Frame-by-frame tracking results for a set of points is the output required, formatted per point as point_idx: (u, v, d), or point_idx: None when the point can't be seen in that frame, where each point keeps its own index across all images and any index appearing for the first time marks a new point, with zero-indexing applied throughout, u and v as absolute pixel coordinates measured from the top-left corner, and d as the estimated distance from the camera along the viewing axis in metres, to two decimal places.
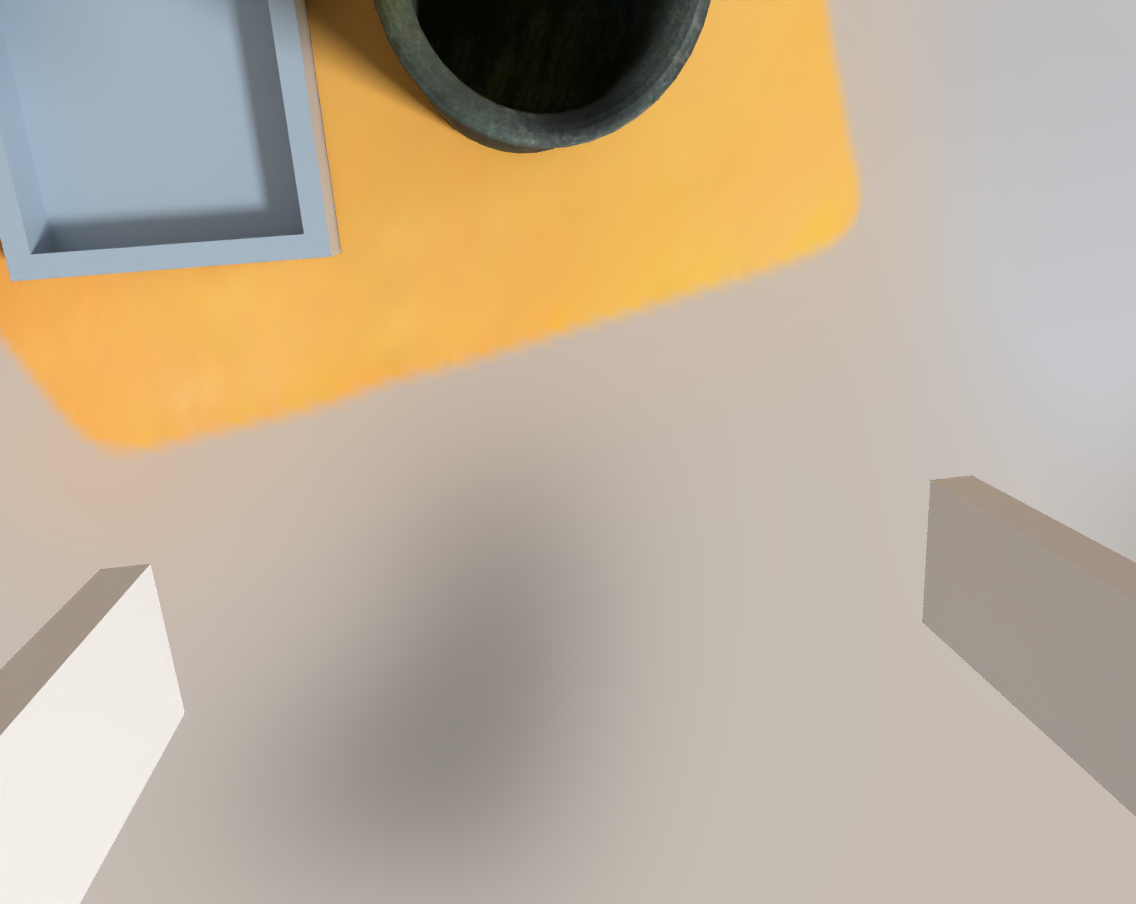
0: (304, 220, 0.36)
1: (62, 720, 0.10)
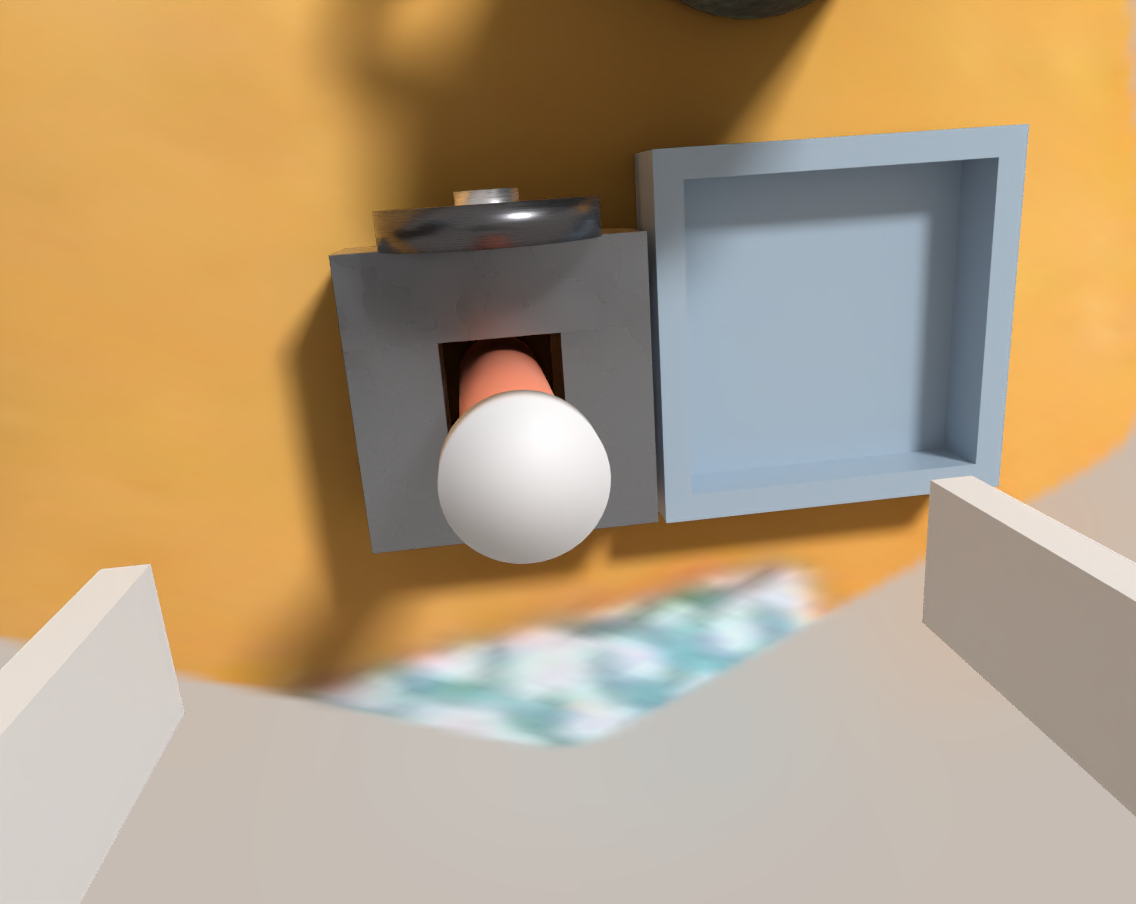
0: (983, 155, 0.29)
1: (61, 720, 0.10)
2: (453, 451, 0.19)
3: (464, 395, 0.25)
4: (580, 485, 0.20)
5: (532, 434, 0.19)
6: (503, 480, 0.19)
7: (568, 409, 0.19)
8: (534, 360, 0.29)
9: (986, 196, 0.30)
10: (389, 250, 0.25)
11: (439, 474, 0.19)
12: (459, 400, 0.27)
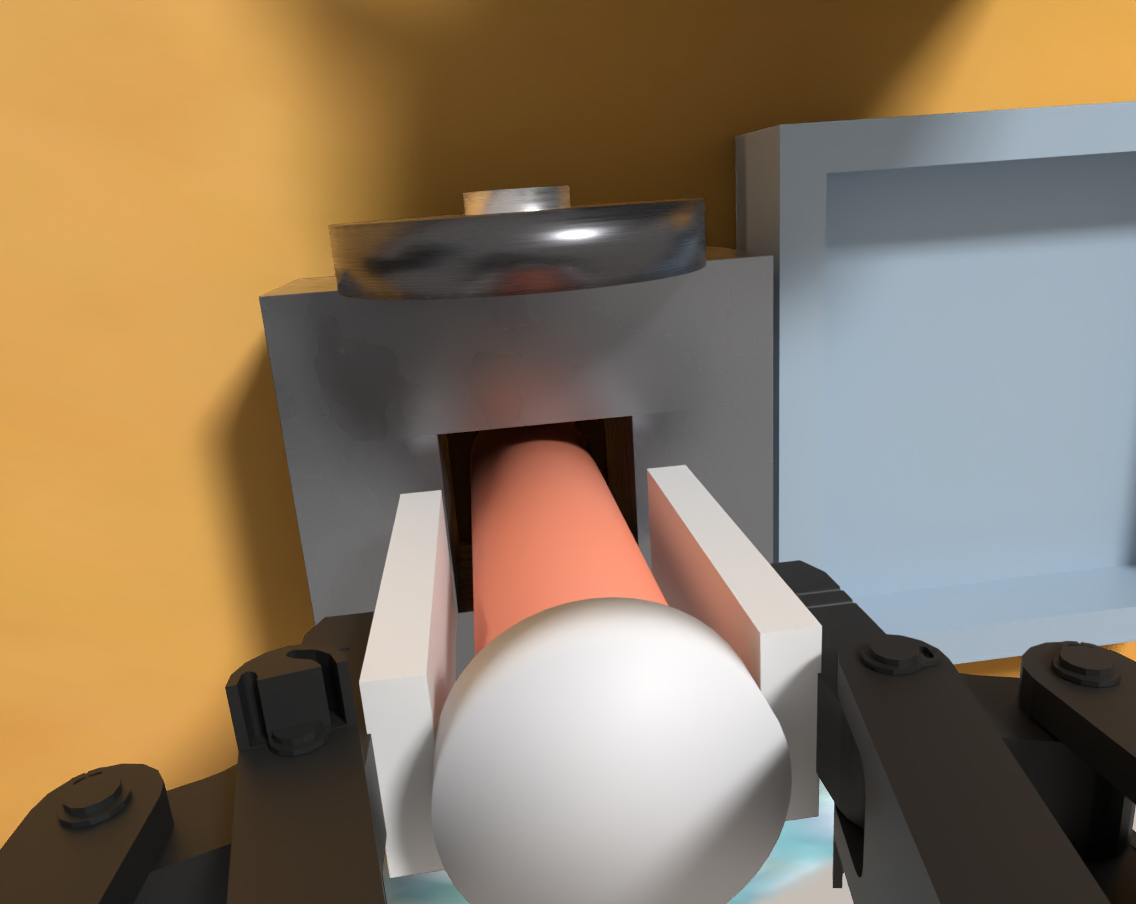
0: None
1: (440, 599, 0.13)
2: (465, 749, 0.09)
3: (481, 534, 0.15)
4: (728, 802, 0.09)
5: (634, 709, 0.09)
6: (570, 799, 0.09)
7: (709, 651, 0.09)
8: (587, 453, 0.19)
9: None
10: (354, 292, 0.14)
11: (435, 795, 0.09)
12: None
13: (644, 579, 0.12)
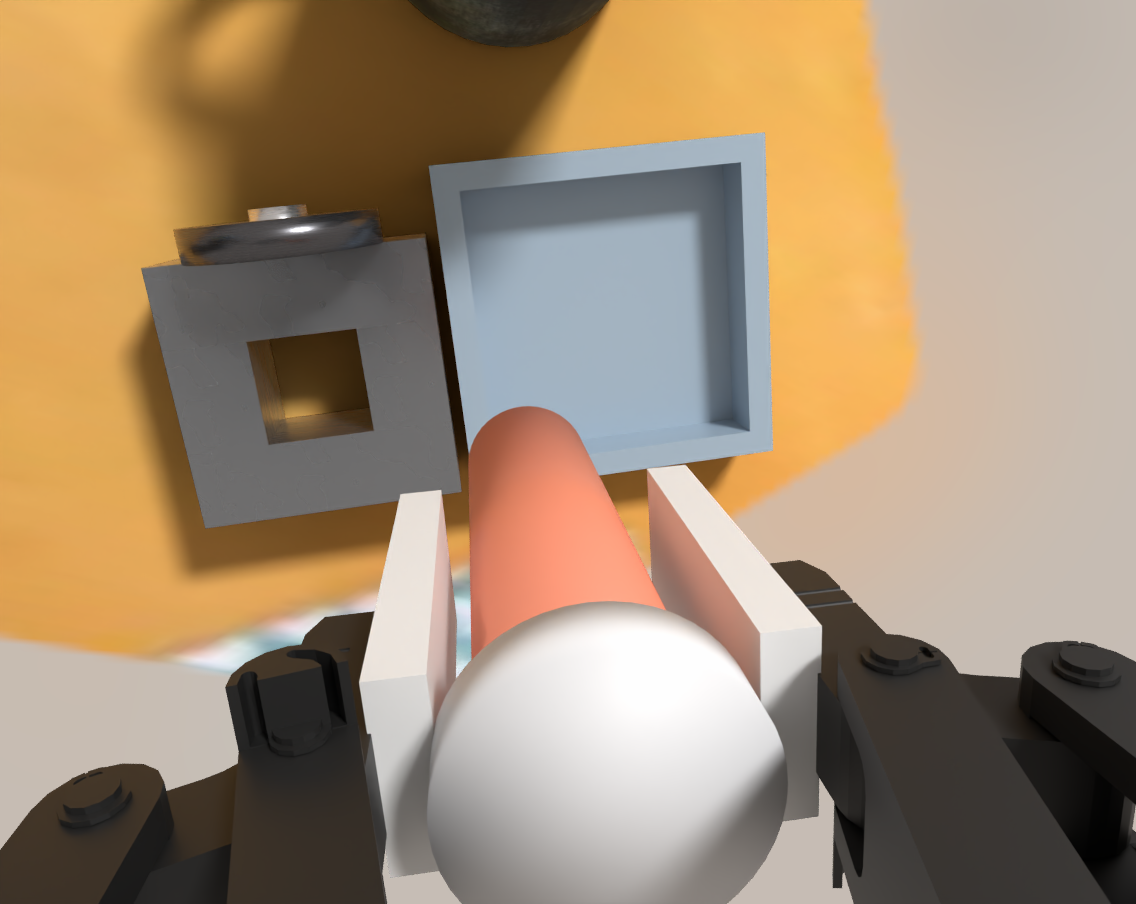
0: (727, 160, 0.33)
1: (440, 599, 0.13)
2: (461, 753, 0.09)
3: (478, 536, 0.15)
4: (723, 805, 0.09)
5: (630, 713, 0.09)
6: (566, 803, 0.09)
7: (706, 655, 0.09)
8: (585, 455, 0.19)
9: (737, 196, 0.34)
10: (185, 263, 0.29)
11: (430, 799, 0.09)
12: None
13: (641, 582, 0.12)
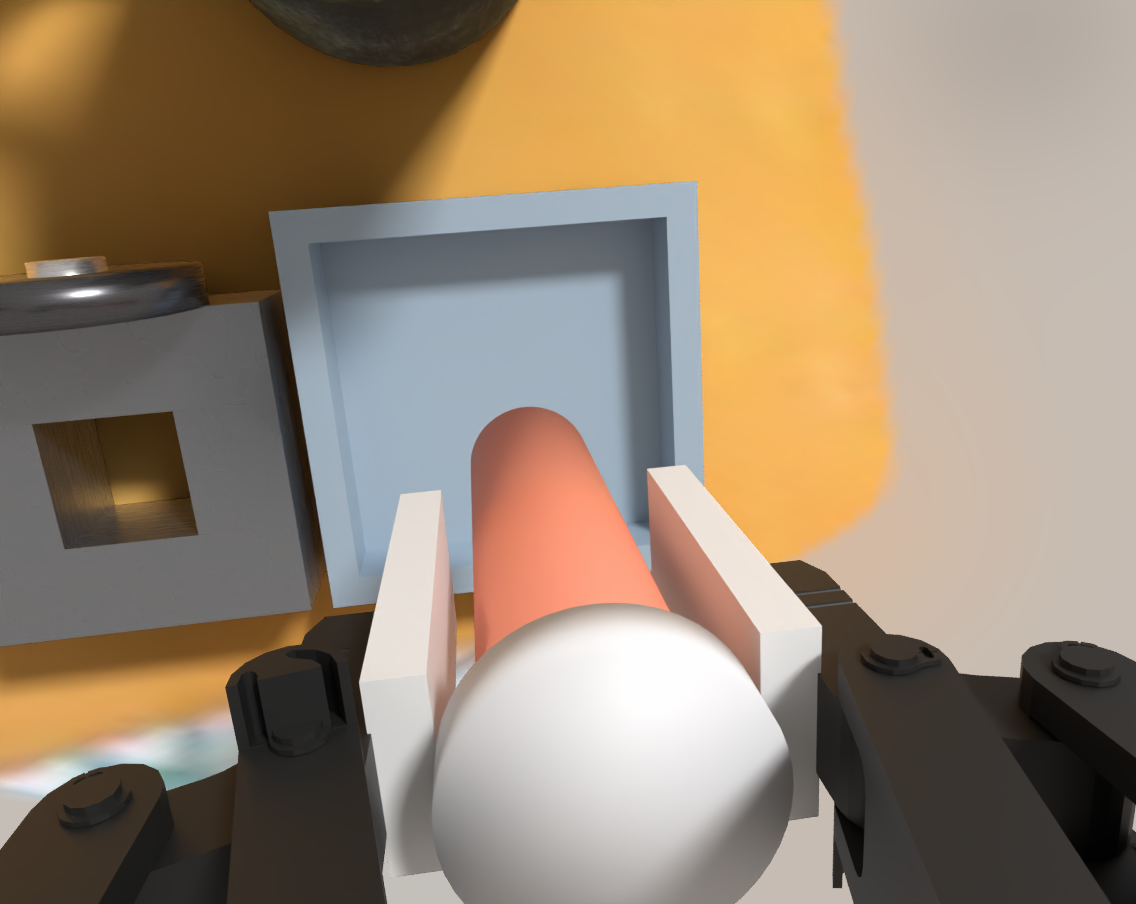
0: (649, 214, 0.26)
1: (440, 599, 0.13)
2: (465, 756, 0.09)
3: (481, 537, 0.15)
4: (729, 807, 0.09)
5: (635, 715, 0.09)
6: (571, 806, 0.09)
7: (711, 657, 0.09)
8: (587, 456, 0.19)
9: (664, 257, 0.27)
10: None
11: (435, 802, 0.09)
12: (472, 529, 0.17)
13: (645, 583, 0.12)
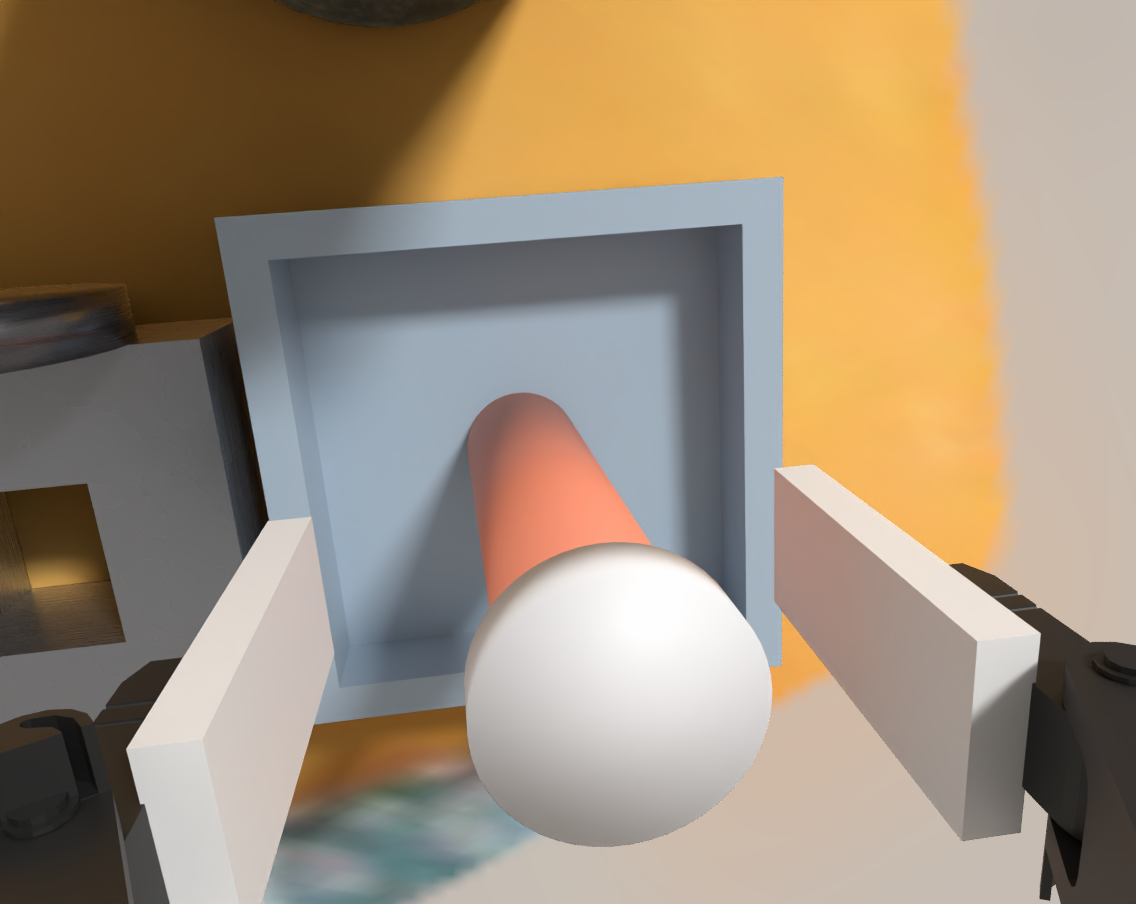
0: (719, 221, 0.20)
1: (276, 640, 0.12)
2: (496, 668, 0.10)
3: (487, 504, 0.17)
4: (718, 713, 0.11)
5: (639, 632, 0.11)
6: (585, 712, 0.11)
7: (703, 583, 0.11)
8: (578, 435, 0.20)
9: (736, 276, 0.21)
10: None
11: (470, 708, 0.10)
12: (475, 501, 0.18)
13: (639, 536, 0.14)
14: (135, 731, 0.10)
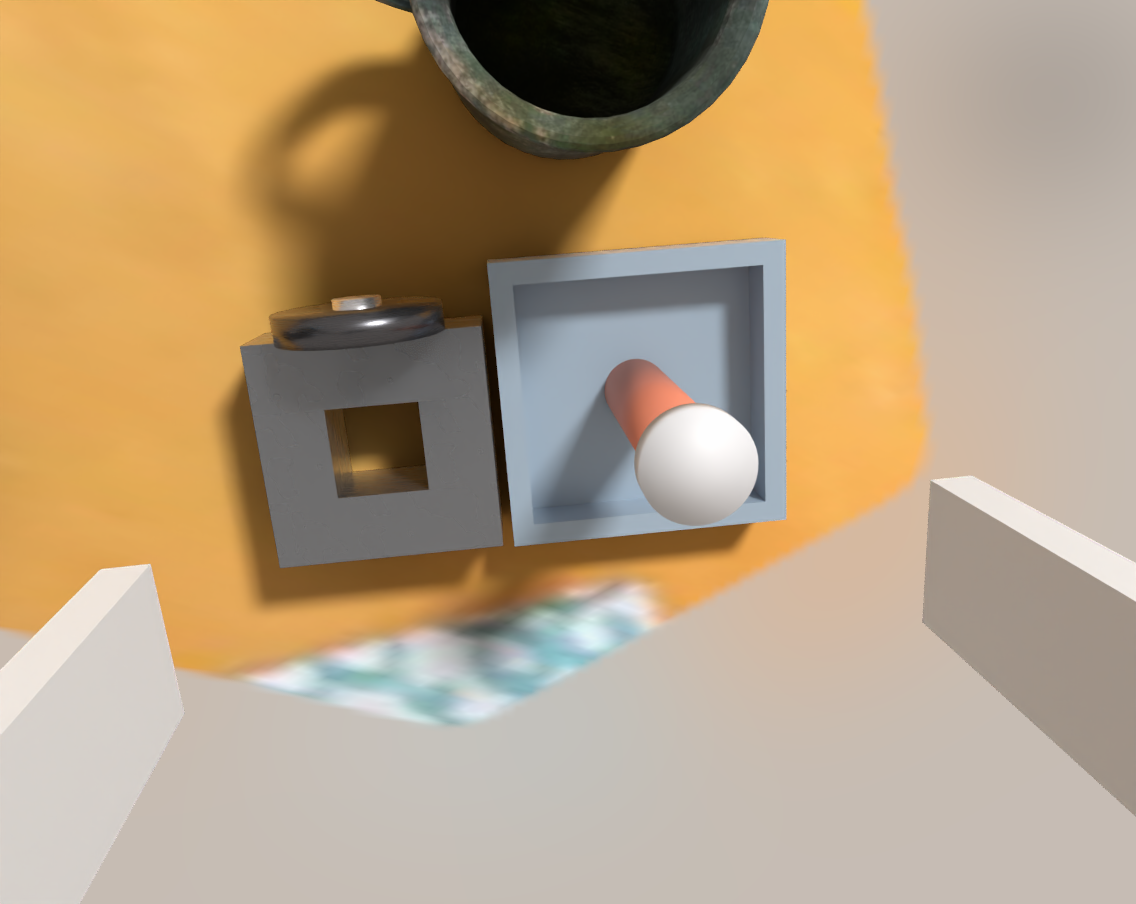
0: (750, 263, 0.37)
1: (62, 721, 0.10)
2: (651, 445, 0.28)
3: (629, 406, 0.34)
4: (736, 470, 0.28)
5: (705, 434, 0.28)
6: (684, 466, 0.28)
7: (730, 416, 0.28)
8: None
9: (759, 293, 0.38)
10: (277, 346, 0.34)
11: (641, 461, 0.28)
12: (618, 410, 0.36)
13: None
14: None
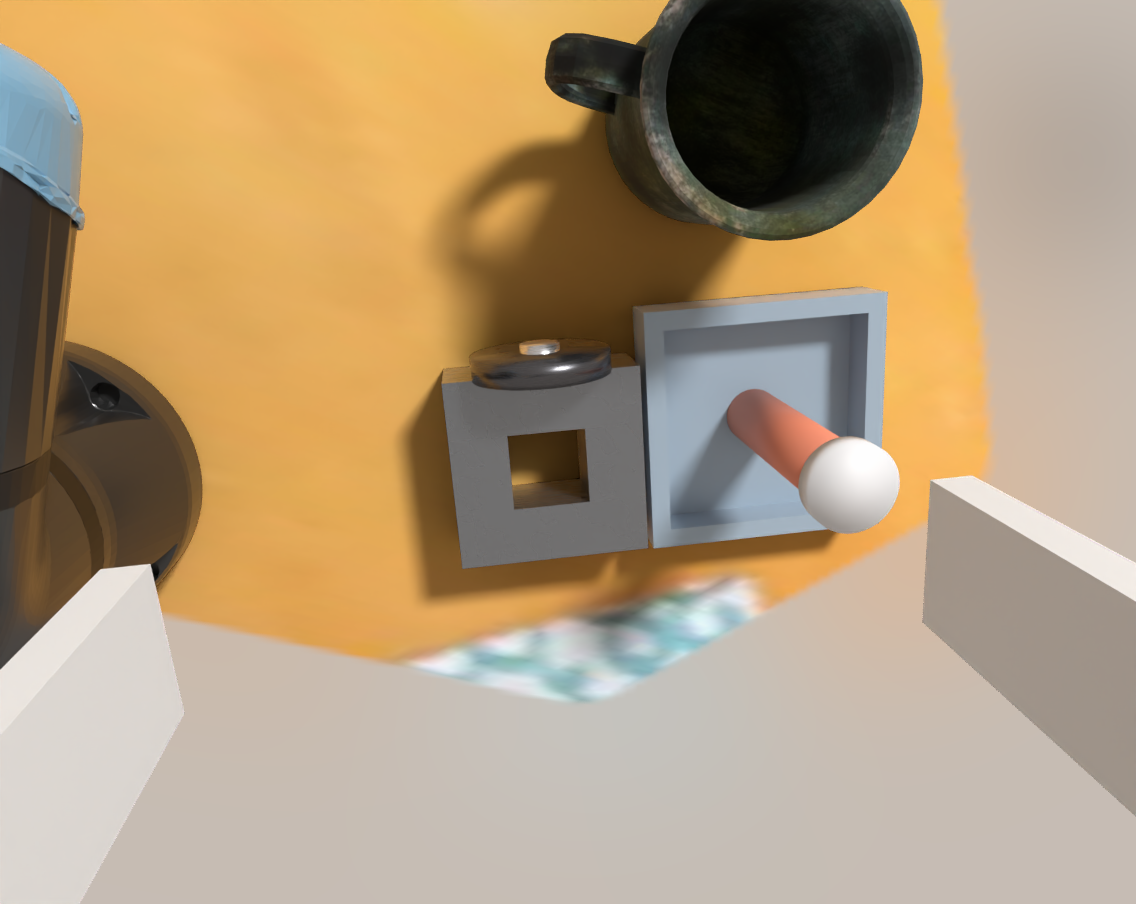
0: (858, 311, 0.45)
1: (62, 721, 0.10)
2: (818, 471, 0.35)
3: (771, 434, 0.41)
4: (882, 489, 0.36)
5: (860, 461, 0.35)
6: (842, 486, 0.35)
7: (879, 447, 0.35)
8: None
9: (863, 335, 0.45)
10: (482, 385, 0.40)
11: (809, 483, 0.35)
12: (754, 435, 0.43)
13: None
14: None
